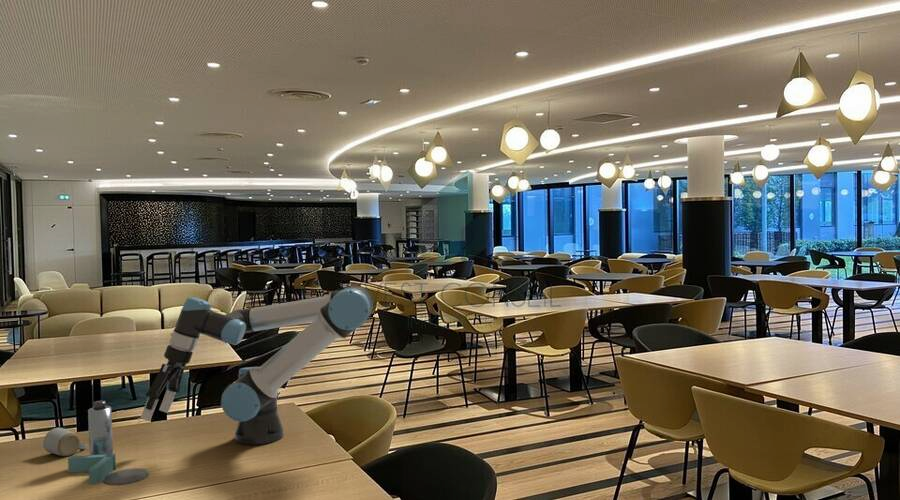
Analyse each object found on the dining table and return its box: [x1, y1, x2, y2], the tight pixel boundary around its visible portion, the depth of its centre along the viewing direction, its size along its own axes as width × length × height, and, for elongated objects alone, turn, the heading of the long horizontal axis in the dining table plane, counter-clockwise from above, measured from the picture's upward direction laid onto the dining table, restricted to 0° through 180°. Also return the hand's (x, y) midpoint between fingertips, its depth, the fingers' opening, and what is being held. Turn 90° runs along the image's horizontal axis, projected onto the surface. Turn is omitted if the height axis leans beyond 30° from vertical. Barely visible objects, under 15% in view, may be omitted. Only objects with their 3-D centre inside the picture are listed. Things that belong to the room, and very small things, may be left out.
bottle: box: [87, 400, 114, 455], centre depth 192 cm, size 6×6×18 cm
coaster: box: [103, 467, 149, 486], centre depth 180 cm, size 11×11×1 cm
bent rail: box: [67, 453, 117, 485], centre depth 181 cm, size 12×12×4 cm
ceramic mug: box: [42, 427, 88, 457], centre depth 201 cm, size 11×8×8 cm
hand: (154, 415), depth 195 cm, fingers open, 13 cm apart
